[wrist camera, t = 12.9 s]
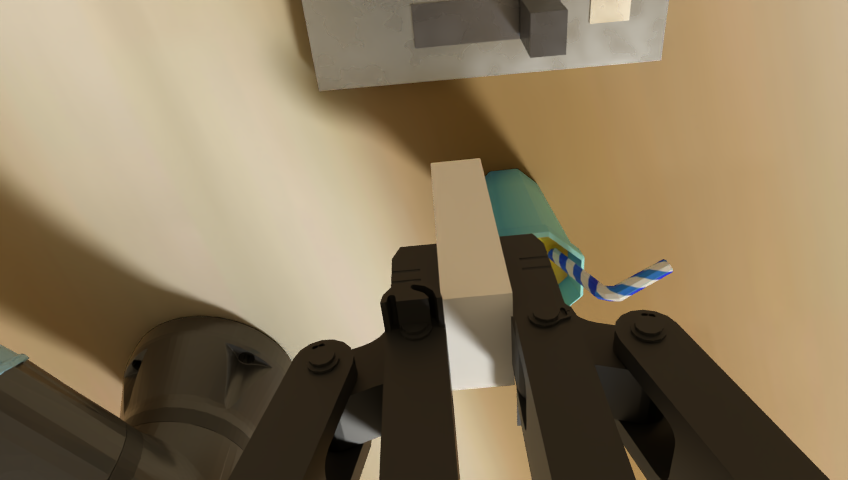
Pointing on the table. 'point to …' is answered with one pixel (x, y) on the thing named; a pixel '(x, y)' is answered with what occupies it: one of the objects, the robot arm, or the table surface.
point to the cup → (555, 238)
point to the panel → (475, 38)
